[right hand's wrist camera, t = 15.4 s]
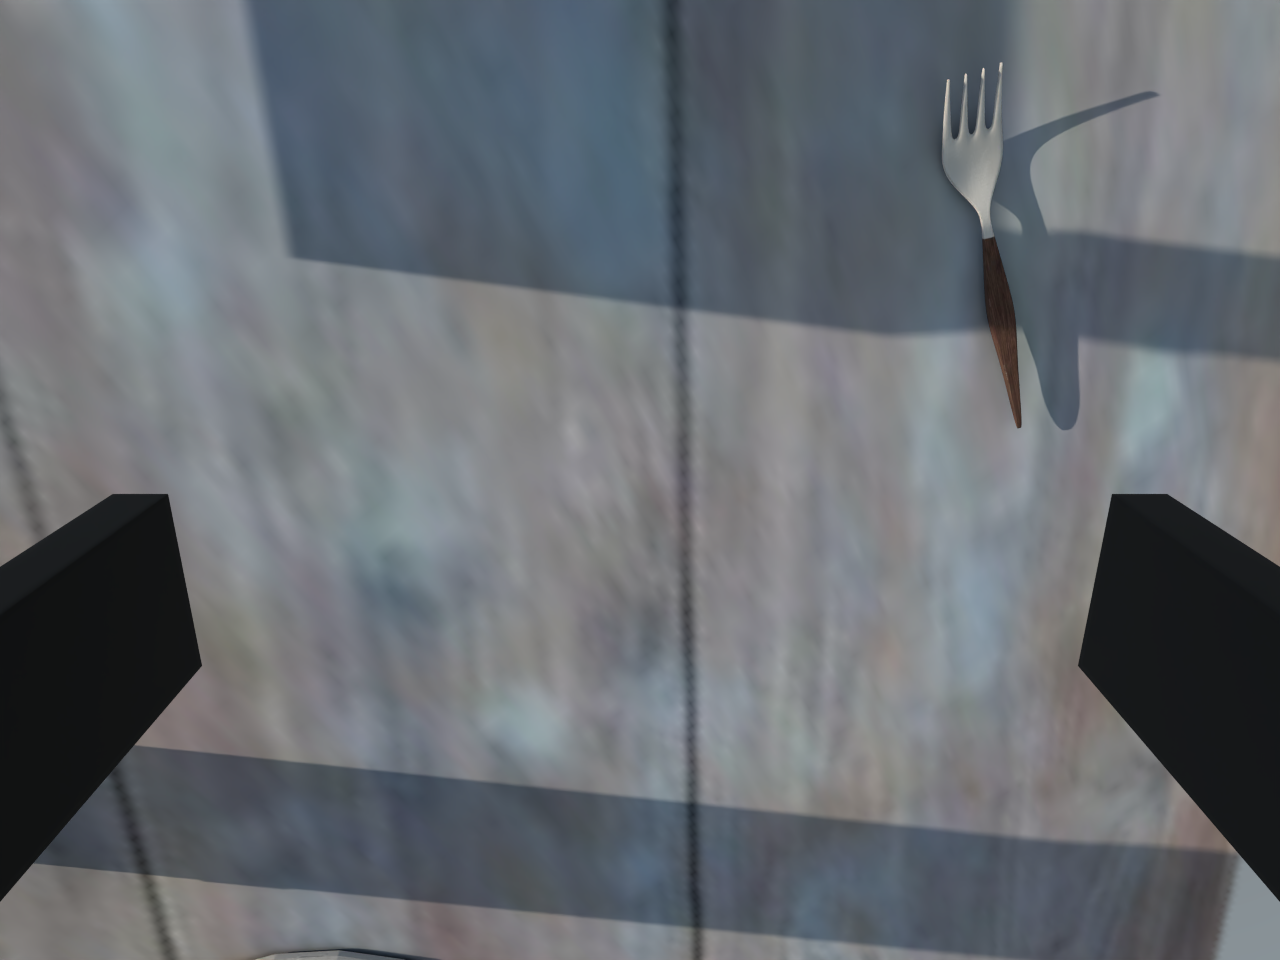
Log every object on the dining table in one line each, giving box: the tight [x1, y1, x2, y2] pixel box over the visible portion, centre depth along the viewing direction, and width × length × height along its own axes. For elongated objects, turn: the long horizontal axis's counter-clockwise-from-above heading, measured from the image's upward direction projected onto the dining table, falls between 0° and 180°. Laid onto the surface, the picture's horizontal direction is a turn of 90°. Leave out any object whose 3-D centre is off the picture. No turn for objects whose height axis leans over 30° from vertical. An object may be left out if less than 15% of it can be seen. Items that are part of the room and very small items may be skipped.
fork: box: [942, 62, 1021, 428], centre depth 39 cm, size 3×16×2 cm, turn 17°
